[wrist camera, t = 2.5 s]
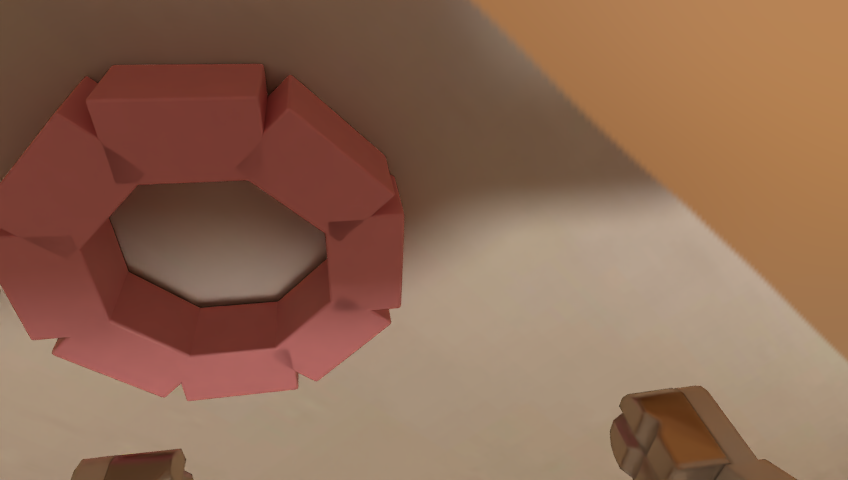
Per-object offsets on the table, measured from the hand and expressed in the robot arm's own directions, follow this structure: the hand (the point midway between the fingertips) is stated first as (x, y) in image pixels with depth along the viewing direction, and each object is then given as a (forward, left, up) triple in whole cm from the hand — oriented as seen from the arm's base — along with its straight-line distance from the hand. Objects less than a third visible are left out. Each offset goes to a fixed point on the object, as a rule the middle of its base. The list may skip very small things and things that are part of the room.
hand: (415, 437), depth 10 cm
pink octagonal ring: (-3, -3, -7) cm, 8 cm away
